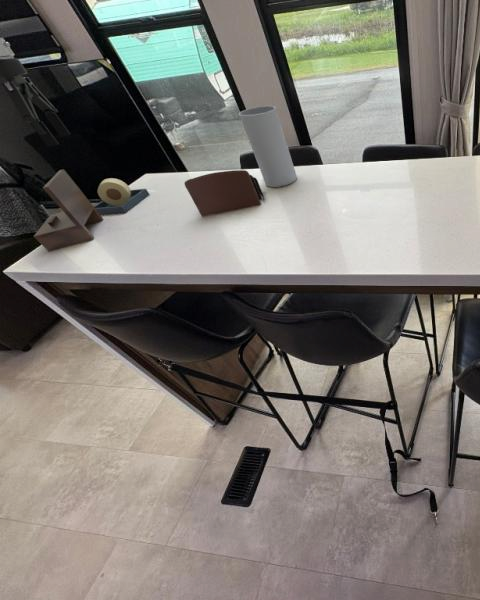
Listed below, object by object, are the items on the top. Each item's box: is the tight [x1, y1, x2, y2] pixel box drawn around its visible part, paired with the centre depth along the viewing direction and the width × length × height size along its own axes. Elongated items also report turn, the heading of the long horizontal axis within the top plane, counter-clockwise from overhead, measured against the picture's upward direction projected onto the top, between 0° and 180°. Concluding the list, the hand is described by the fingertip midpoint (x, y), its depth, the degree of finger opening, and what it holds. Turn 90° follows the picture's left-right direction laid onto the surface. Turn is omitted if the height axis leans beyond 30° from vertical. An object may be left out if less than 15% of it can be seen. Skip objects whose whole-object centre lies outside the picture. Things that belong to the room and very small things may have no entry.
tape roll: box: [97, 177, 132, 206], centre depth 121 cm, size 9×5×9 cm, turn 116°
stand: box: [33, 169, 105, 252], centre depth 100 cm, size 12×16×19 cm
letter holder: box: [184, 169, 265, 217], centre depth 108 cm, size 10×20×14 cm, turn 105°
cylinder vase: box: [238, 105, 298, 188], centre depth 119 cm, size 12×12×25 cm
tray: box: [93, 188, 150, 216], centre depth 124 cm, size 16×13×2 cm
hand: (60, 140), depth 104 cm, fingers open, 13 cm apart
